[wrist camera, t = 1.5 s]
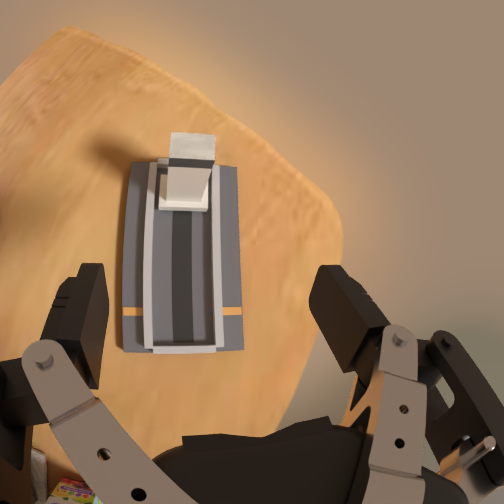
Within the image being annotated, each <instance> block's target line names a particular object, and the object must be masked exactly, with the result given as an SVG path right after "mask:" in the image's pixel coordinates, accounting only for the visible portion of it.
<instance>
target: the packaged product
mask: <svg viewBox="0 0 504 504" xmlns="http://www.w3.org/2000/svg"><path fill="white" fill-rule="evenodd" d="M47 499H48V488H47V463H46V456H45V453H43V452H40V451H38V450H36V449H34V448H32V450H31V504H44V503H45V502H46V501H47Z"/></svg>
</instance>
